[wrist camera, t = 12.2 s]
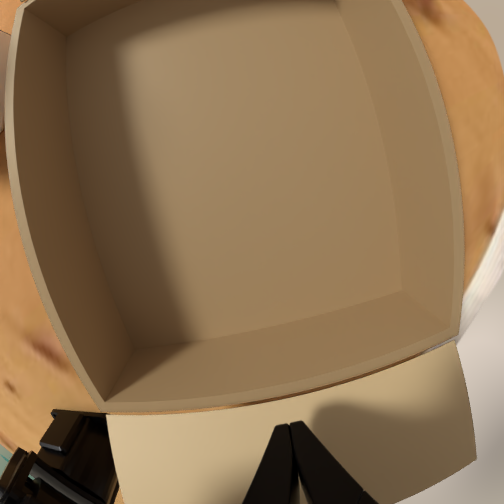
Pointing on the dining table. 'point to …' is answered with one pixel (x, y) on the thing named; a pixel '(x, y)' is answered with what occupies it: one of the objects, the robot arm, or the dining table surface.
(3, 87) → the medicine bottle
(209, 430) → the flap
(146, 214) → the carton
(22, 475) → the robot arm
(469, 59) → the dining table surface
